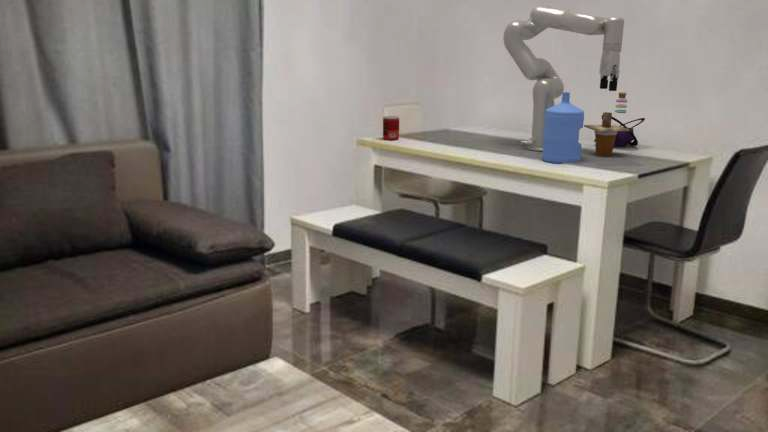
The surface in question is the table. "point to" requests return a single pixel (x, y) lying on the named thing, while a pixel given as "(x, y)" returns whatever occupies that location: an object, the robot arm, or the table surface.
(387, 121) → the canned food
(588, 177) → the table surface
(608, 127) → the oak lid
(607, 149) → the disposable coffee cup
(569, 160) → the water jug
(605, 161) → the rubber mat
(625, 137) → the decorative bottle
